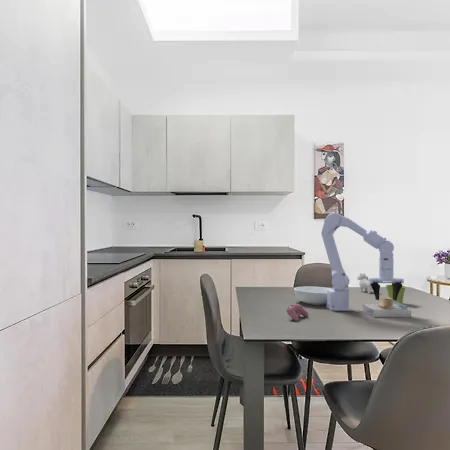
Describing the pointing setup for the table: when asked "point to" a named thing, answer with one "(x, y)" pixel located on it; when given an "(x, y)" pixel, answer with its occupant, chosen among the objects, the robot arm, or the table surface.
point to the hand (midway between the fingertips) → (386, 299)
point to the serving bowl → (312, 294)
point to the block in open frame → (387, 310)
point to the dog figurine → (364, 282)
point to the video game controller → (296, 311)
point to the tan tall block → (386, 302)
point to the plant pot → (400, 294)
